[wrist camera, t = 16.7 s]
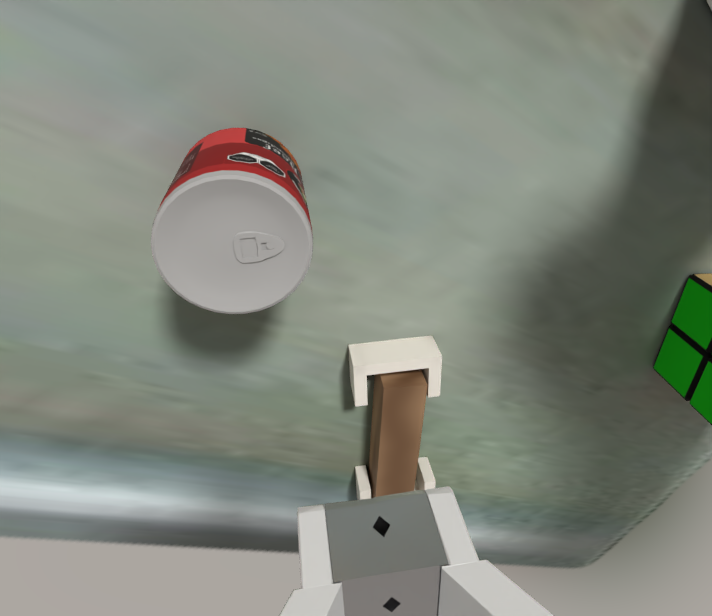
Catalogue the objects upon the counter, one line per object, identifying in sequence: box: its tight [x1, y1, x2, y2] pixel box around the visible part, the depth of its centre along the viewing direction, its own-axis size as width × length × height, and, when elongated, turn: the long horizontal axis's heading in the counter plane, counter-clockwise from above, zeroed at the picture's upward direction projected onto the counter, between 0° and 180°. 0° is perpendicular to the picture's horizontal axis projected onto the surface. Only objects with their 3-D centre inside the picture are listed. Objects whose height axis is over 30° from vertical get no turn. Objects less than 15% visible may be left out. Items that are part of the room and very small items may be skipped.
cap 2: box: [355, 457, 435, 500], centre depth 51 cm, size 7×4×3 cm, turn 92°
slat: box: [368, 369, 427, 498], centre depth 47 cm, size 4×14×4 cm, turn 178°
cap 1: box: [348, 335, 442, 406], centre depth 44 cm, size 7×4×3 cm, turn 92°
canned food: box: [151, 128, 313, 314], centre depth 31 cm, size 8×8×11 cm
